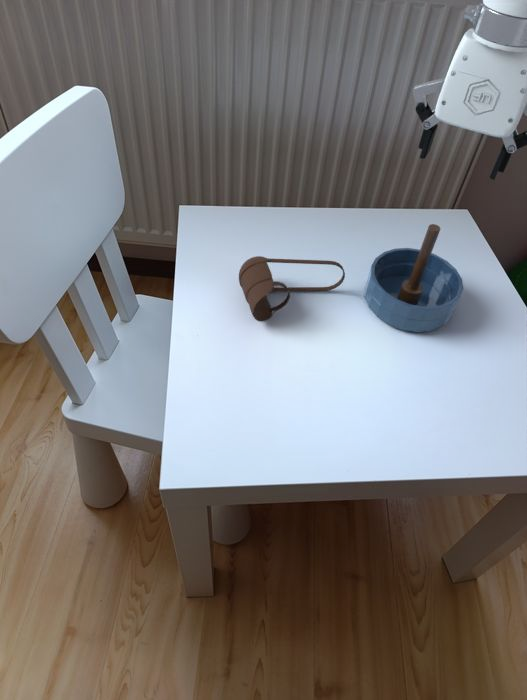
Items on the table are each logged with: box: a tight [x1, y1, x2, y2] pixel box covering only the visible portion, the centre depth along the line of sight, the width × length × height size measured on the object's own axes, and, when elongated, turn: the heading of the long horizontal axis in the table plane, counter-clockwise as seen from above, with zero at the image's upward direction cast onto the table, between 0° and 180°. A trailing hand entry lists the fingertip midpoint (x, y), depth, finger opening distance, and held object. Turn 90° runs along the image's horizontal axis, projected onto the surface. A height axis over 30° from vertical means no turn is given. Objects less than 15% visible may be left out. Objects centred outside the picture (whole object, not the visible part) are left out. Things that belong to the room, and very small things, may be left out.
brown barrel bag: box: [238, 255, 346, 322], centre depth 90 cm, size 18×12×7 cm, turn 104°
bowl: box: [364, 247, 464, 333], centre depth 91 cm, size 15×15×6 cm
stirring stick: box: [398, 223, 441, 305], centre depth 87 cm, size 4×4×15 cm
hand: (458, 164), depth 74 cm, fingers open, 9 cm apart
